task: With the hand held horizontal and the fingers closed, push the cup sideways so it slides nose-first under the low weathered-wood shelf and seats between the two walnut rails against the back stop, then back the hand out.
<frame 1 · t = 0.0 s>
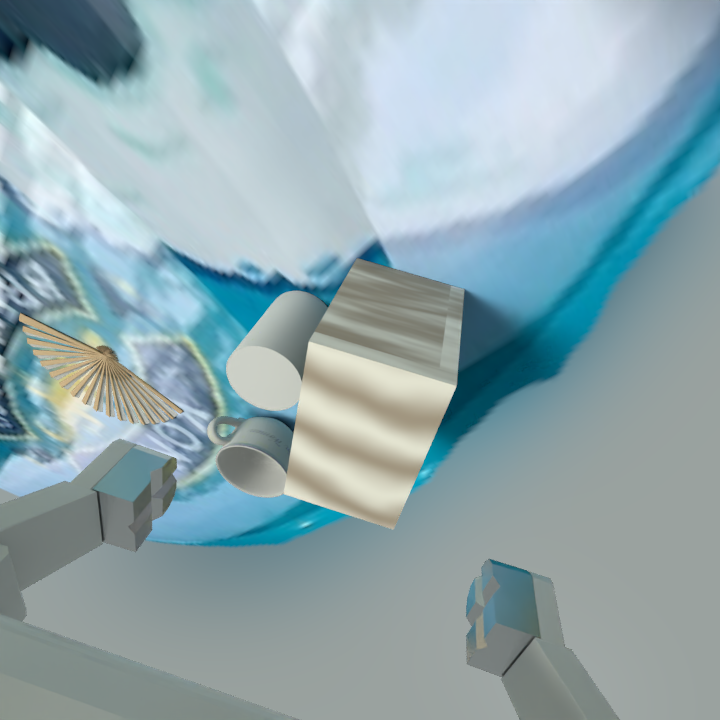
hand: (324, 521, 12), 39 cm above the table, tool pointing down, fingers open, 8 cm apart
hand fan: (101, 376, 70), on the table
cup: (302, 320, 56), on the table
shelf: (388, 347, 55), on the table
teacup: (266, 425, 68), on the table
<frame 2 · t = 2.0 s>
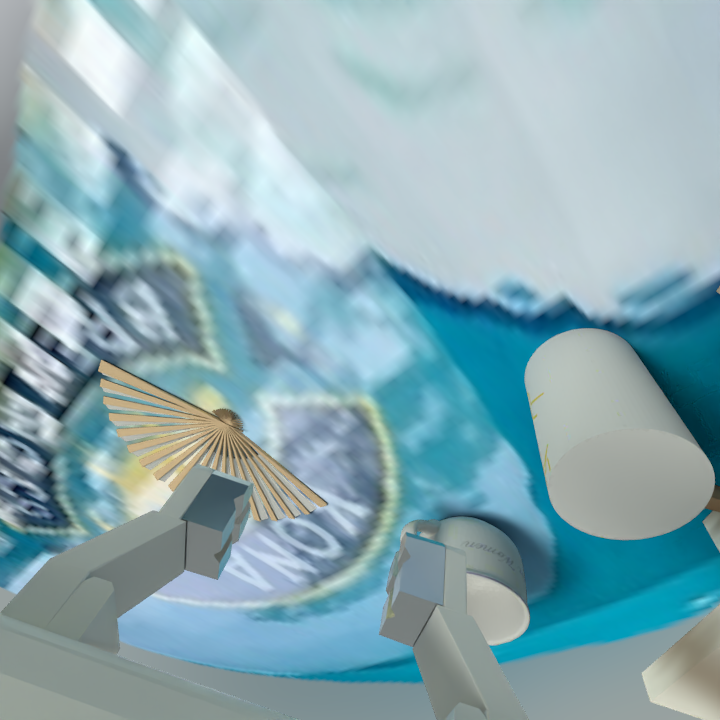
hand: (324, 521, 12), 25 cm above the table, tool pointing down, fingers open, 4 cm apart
hand fan: (207, 452, 48), on the table
cup: (579, 374, 35), on the table
teacup: (457, 527, 46), on the table
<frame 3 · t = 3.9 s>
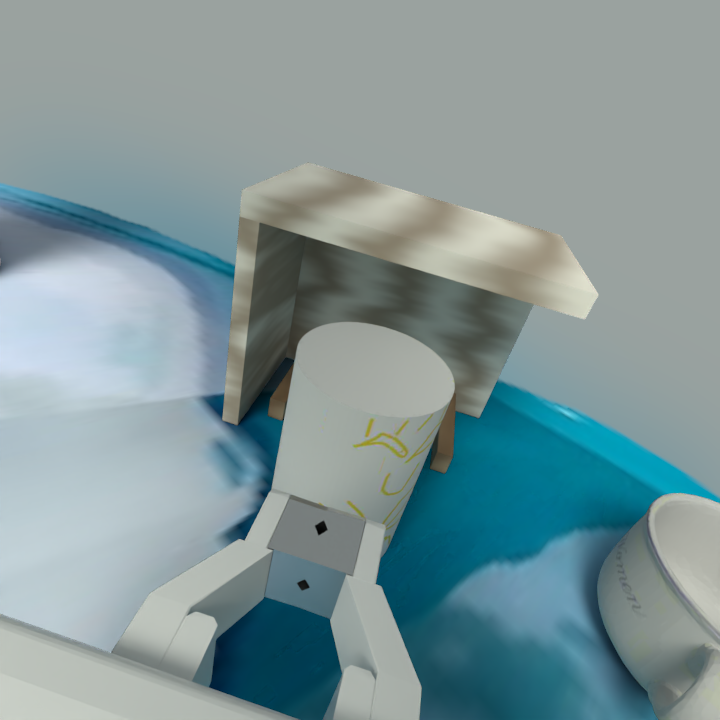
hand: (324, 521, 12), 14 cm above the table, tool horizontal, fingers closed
cup: (331, 517, 29), on the table
shelf: (365, 413, 39), on the table
teacup: (653, 672, 26), on the table
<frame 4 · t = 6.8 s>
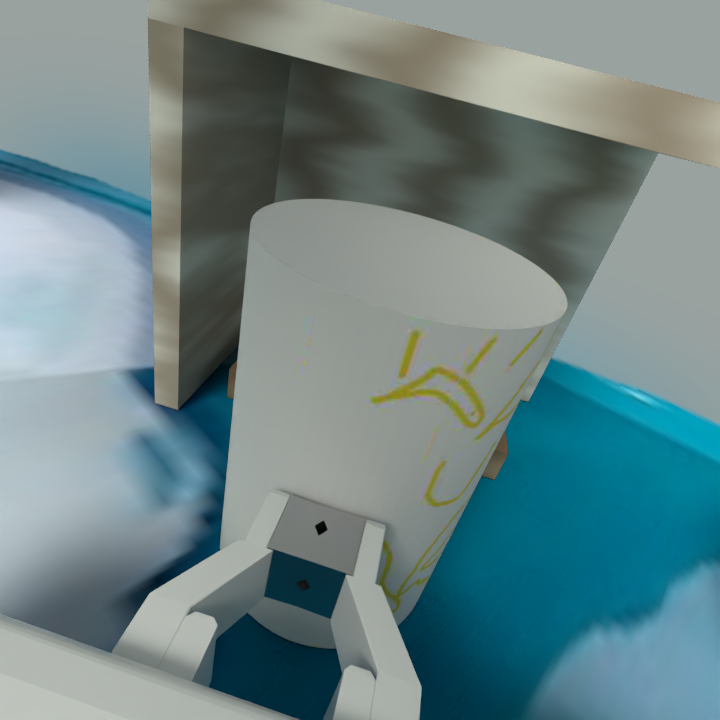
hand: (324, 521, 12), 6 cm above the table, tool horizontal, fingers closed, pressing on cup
cup: (326, 541, 18), on the table, touching gripper
shelf: (371, 395, 27), on the table
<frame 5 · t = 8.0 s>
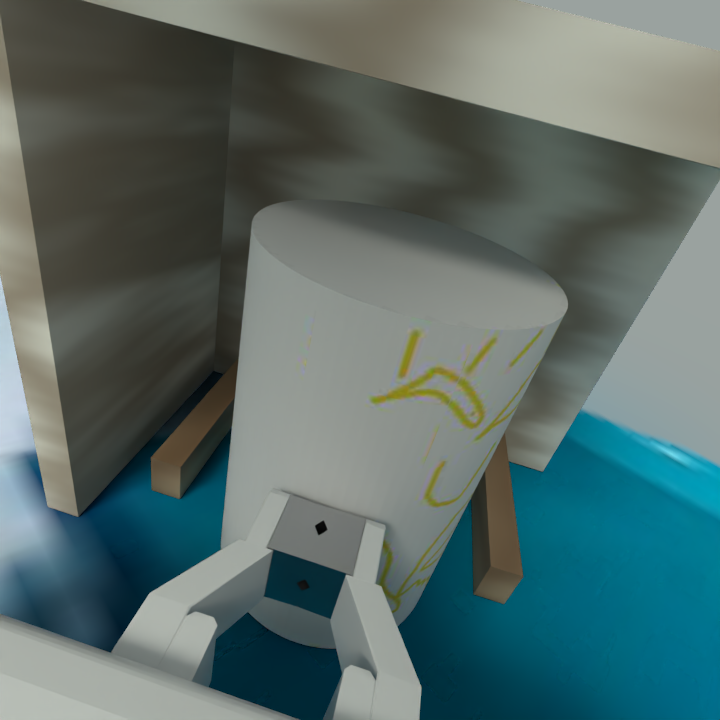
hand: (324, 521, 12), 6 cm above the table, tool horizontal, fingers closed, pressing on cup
cup: (326, 541, 18), on the table, touching gripper
shelf: (346, 474, 21), on the table
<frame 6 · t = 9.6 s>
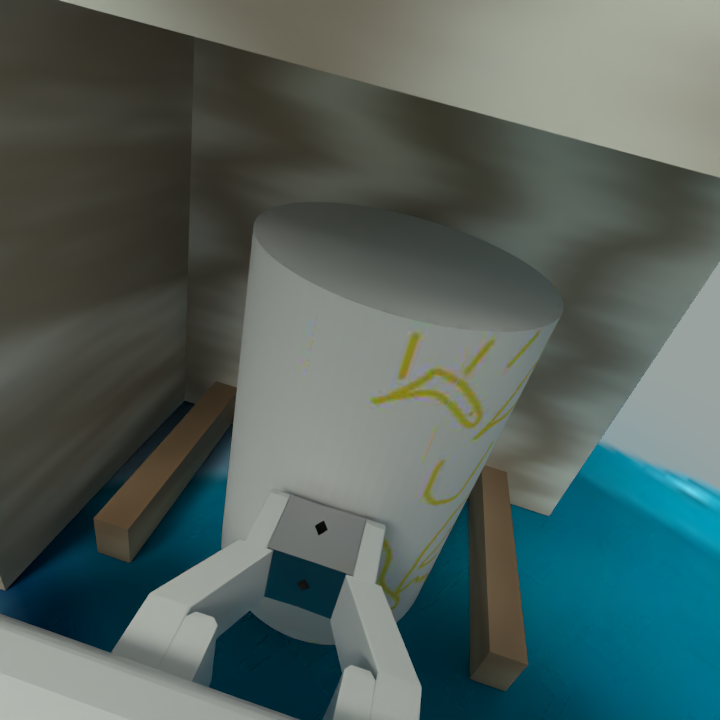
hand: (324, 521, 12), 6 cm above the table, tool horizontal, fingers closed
cup: (326, 539, 18), on the table
shelf: (327, 525, 19), on the table
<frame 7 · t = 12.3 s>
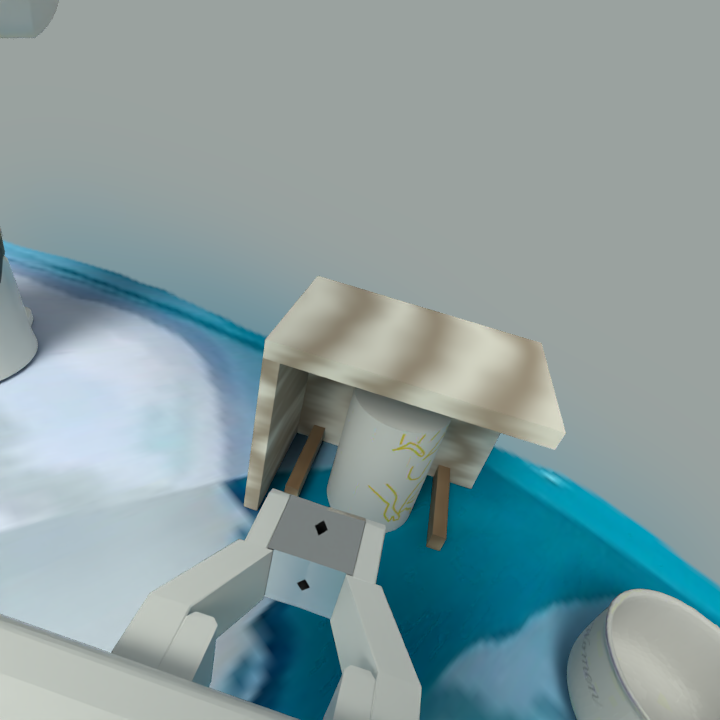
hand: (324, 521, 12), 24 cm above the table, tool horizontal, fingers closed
cup: (368, 496, 43), on the table
shelf: (369, 490, 43), on the table
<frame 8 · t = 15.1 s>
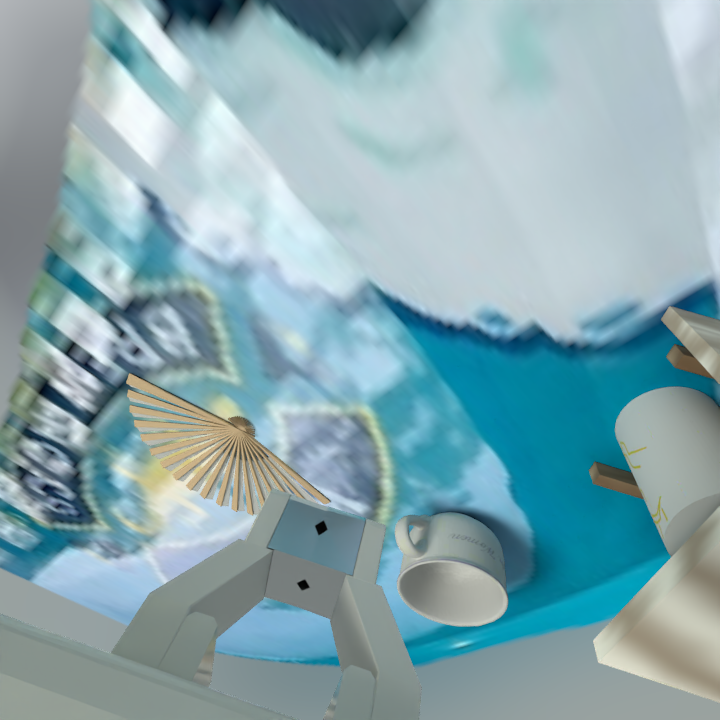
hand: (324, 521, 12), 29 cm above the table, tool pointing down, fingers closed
hand fan: (222, 455, 54), on the table
cup: (665, 424, 40), on the table
shelf: (672, 426, 40), on the table
teacup: (446, 521, 51), on the table
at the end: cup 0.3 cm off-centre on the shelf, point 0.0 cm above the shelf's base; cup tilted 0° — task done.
